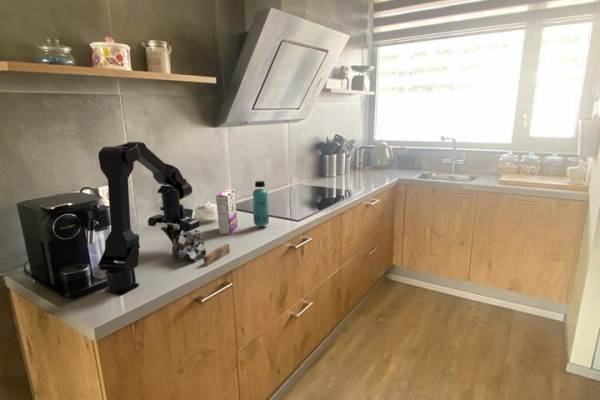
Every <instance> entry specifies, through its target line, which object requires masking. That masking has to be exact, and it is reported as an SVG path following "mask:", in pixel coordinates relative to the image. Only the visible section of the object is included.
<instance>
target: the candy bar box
mask: <svg viewBox="0 0 600 400" xmlns="http://www.w3.org/2000/svg"><path fill="white" fill-rule="evenodd" d="M235 191H236V190H235V189H223V190H222V191H221V192H219V193H218V194H216V196H215V200H216V210H217V211H216V212H217V221H218V233H219V235H231V234H232V233H233V232H234V231H235V230H236V228H237V227H238V218H237V217H238V216H237V205H236V194H235Z"/></svg>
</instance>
